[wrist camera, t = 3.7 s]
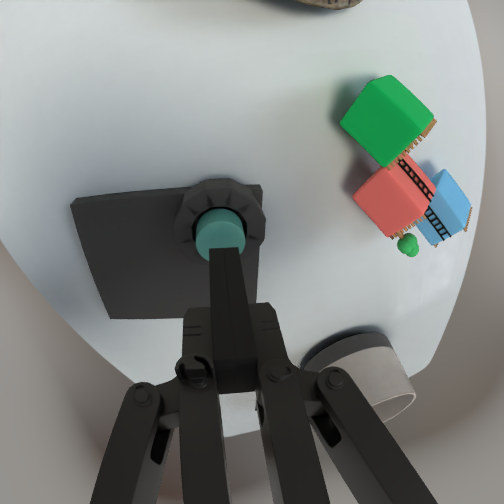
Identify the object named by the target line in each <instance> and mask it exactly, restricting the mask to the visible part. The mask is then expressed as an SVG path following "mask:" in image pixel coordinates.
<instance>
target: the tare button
mask: <svg viewBox="0 0 504 504" xmlns="http://www.w3.org/2000/svg"><path fill="white" fill-rule="evenodd" d="M228 247H238V248H239V253H240V254H241V253H242V251H243V249H244V247H245V235H244V231H243V226H242V222H241V220H240V218H239V217H238V216H237V215H236V214H235V213H234V212H232V211H230V210H227V209H213V210H210V211H208V212H206V213H205V214H204V215H202V217H201V218H200V219H199V221H198V223H197V227H196V248H197V250H198V252H199V254H200V255H201V256H202V257H203V258H204V259H206V260H208V261H209V248H228Z"/></svg>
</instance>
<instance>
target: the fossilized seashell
mask: <svg viewBox="0 0 504 504" xmlns="http://www.w3.org/2000/svg"><path fill="white" fill-rule="evenodd" d="M296 1H300V2H302V3H304V4H309V5H312V6H319V7H323V8H324V7H325V8H329V9H334V10H340V9H344V8H350V7H353V6H356V5H357V4H359V3H360V2H362V0H296Z"/></svg>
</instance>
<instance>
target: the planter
mask: <svg viewBox="0 0 504 504" xmlns="http://www.w3.org/2000/svg"><path fill="white" fill-rule="evenodd" d="M331 366H334V367H340V368H342V369H344V370H345V371H346V372H347V373H348V374H349V375H350V376H351V378H352V379H353V381H354V382H355V383H356V385H357V386H358V388H359V389H360V391H361V392H362V394H363V395H364V396H365V398H366V399H367V401H368V402H369V404H370V405H371V406H372V408H373V409H374V411H375V412H376V414H377V415H378V417H379V418H380V419H381V421H382V422H385V421H387V420H389V419H391V418H392V417H394V416H395V415H397V414H399V413H400V412H401V411H403V410H404V409H405V408H407V407H408V406H409V405H410V404H411V403H412V402H413V400H414V399H415V398H416V393H415V391H414V389H413V387H412V385H411V383H410V381H409V379H408V376H407V374H406V372H405V370H404V368H403V366H402V365H401V363H400V361H399V359H398V357H397V355H396V353H395V351H394V349H393V347H392V345H391V344H390V342H389V340H388V338H387V337H386V336H385V335H383V334H380V333H363V334H358V335H354V336H351V337H348V338H345V339H343V340H340V341H338V342H336V343H334V344H332V345H330V346H328V347H327V348H325V349H323V350H322V351H321V352H319V353H318V354H317V355H315V356H314V357H313V358H312V359H311V360H310V361H309V362H308V363H307V364H306V366H305V367H304V369H303V370H306V371H314V372H321V371H322V370H323V369H325V368H327V367H331Z"/></svg>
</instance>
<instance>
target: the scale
mask: <svg viewBox="0 0 504 504" xmlns="http://www.w3.org/2000/svg"><path fill="white" fill-rule="evenodd" d="M262 193H263V191H262V189H261V187H260V185H242V184H240V183H238V182H236V181H234V180H232V179H229V178H228V179H206V180H204V181H202V182H200V183H199V184H197V185H195V186H194V187H185V188H170V189H157V190H145V191H134V192H124V193H115V194H106V195H98V196H90V197H83V198H76V199H75V200H74V201H73V202H72V204H71V205H70V207H71V210H72V214H73V218H74V221H75V225H76V228H77V232H78V235H79V238H80V241H81V245H82V248H83V251H84V254H85V257H86V259H87V262H88V265H89V268H90V271H91V273H92V276H93V279H94V281H95V284H96V286H97V289H98V291H99V294H100V296H101V299H102V301H103V303H104V306H105V308H106V310H107V313H108V315H109V317H110V319H167V318H184V315H185V313H186V312H187V310H188V308H197V307H210V277H209V261H208V260H206V259H204V258H203V257H202V256H201V255H200V254H199V252H198V250H197V248H196V227H197V223H198V221H199V219H200V218H201V217H202V215H204V214H205V213H206V212H208V211H210V210H213V209H227V210H230V211H232V212H234V213H235V214H236V215H237V216H238V217H239V218H240V220H241V222H242V226H243V231H244V235H245V247H244V249H243V251H242V253H241V254H240V259H241V265H242V271H243V276H244V282H245V288H246V294H247V299H248V304H253V303H256V295H257V279H258V263H259V246H260V245H261V244H262V242H263V241H264V238H265V223H266V219H265V216H264V213H263V210H262Z"/></svg>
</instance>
